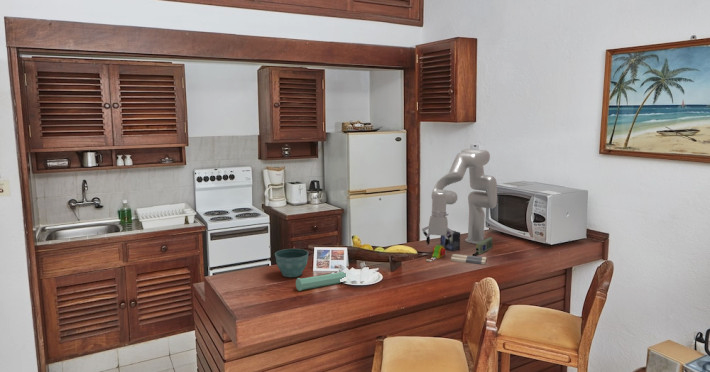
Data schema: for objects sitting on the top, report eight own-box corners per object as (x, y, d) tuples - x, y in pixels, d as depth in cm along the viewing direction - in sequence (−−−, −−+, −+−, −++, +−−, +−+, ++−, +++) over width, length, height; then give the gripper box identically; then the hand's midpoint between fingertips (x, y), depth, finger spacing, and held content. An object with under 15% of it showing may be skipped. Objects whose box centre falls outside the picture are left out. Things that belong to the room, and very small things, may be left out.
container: (344, 267, 236) (296, 275, 222) (350, 275, 231) (302, 283, 218) (342, 277, 238) (294, 285, 225) (348, 285, 234) (299, 294, 221)
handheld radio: (493, 248, 296) (476, 257, 276) (487, 247, 298) (470, 256, 278) (493, 237, 295) (476, 246, 276) (488, 236, 297) (470, 245, 278)
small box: (439, 247, 297) (440, 230, 295) (447, 245, 300) (448, 228, 299) (452, 251, 288) (452, 233, 286) (460, 249, 291) (460, 232, 290)
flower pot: (272, 279, 235) (272, 257, 233) (278, 269, 251) (277, 248, 249) (306, 280, 235) (306, 258, 233) (310, 269, 251) (310, 248, 249)
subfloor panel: (452, 256, 277) (452, 253, 277) (486, 259, 272) (486, 257, 271) (450, 261, 269) (450, 258, 269) (485, 264, 263) (485, 261, 263)
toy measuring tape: (448, 255, 280) (449, 244, 279) (432, 263, 265) (433, 251, 264) (438, 253, 284) (438, 242, 283) (422, 261, 268) (422, 249, 267)
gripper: (455, 214, 273) (453, 245, 275) (424, 212, 278) (422, 242, 280) (453, 216, 266) (452, 248, 268) (421, 214, 271) (420, 244, 273)
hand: (437, 245), depth 274 cm, fingers open, 9 cm apart
